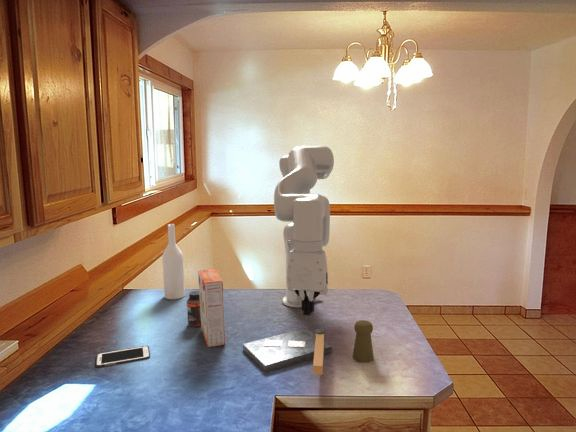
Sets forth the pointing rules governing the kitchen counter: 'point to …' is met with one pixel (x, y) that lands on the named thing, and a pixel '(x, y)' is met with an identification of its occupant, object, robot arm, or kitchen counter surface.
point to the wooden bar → (319, 351)
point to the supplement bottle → (194, 309)
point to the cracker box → (211, 307)
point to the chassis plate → (283, 349)
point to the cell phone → (122, 356)
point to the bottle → (173, 268)
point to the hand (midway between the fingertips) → (307, 313)
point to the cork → (363, 342)
